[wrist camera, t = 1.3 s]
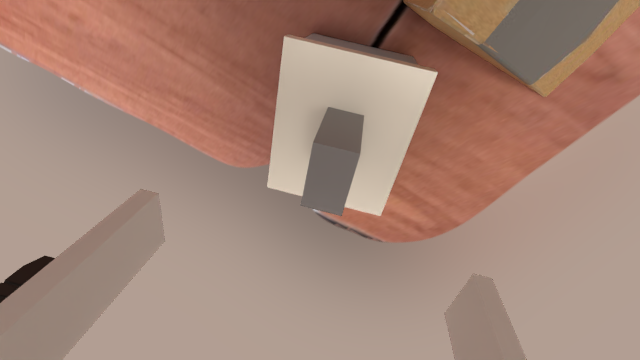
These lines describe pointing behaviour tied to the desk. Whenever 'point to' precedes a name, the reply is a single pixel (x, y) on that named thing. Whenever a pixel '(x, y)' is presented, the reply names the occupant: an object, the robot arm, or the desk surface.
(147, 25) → the desk surface
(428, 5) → the sandwich container
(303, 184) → the lid
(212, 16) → the desk surface
